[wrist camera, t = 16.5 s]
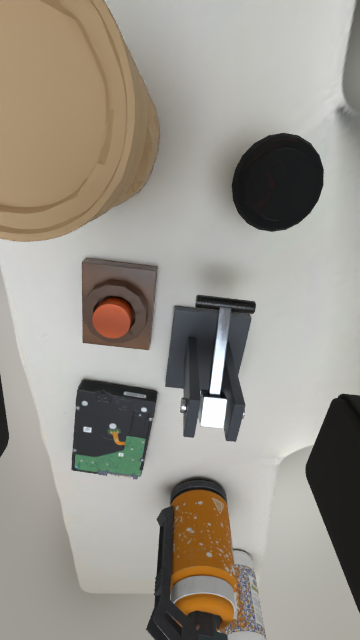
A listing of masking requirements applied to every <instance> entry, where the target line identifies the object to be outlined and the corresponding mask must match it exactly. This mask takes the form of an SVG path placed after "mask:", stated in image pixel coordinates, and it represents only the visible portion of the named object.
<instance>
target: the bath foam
mask: <svg viewBox="0 0 360 640" xmlns="http://www.w3.org/2000/svg"><path fill="white" fill-rule="evenodd" d="M233 555H234V563H235V571H236V579H237V589H236V592H235V593H234V600H235V613H234V617H233V620H232V622H231V623H230V624H229V625H228V626H227V627H225V628H224V629H221V630H220V633H224V634H227V636H228V640H266V635H265V630H264V624H263V618H262V612H261V606H260V601H259V595H258V589H257V583H256V578H255V572H254V567H253V561H252V558H251V557H250V556H249V555H248V554H247V553H245V552H243V551H238V550H233Z"/></svg>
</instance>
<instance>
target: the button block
mask: <svg viewBox="0 0 360 640" xmlns="http://www.w3.org/2000/svg"><path fill="white" fill-rule="evenodd" d="M156 277H157V267H155V266H147V265H139V264H130V263H122V262H114V261H105V260H97V259H89V258H86V259H85V260H84V261H83V262H82V318H83V343H89V344H98V345H107V346H116V347H125V348H134V349H144V350H149V348H150V342H151V331H152V320H153V309H154V298H155V287H156ZM110 297H116V298H120V299H123V300H124V301H126V302H127V303H128V304H129V305H130V307H131V309H132V311H133V320H132V323H131V326H130V328H129V330H128V332H127V333H126V334H125V335H123V336H121V337H119V338H107V337H105V336H103V335H101V334H100V333H98V332H97V330H96V329H95V327H94V325H93V322H92V317H93V314H94V312H95V310H96V308H97V307H98V305H99V304H100V302H102V301H103V300H104V299H107V298H110Z"/></svg>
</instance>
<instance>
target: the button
mask: <svg viewBox="0 0 360 640" xmlns="http://www.w3.org/2000/svg"><path fill="white" fill-rule="evenodd" d="M132 320H133V311H132V309H131V307H130V305H129V304H128V303H127V302H126V301H124V300H123V299H120V298H116V297H110V298H107V299H104V300H103V301H102V302H100V304H99V305H98V307H97V308H96V310H95V312H94V314H93V317H92V322H93V325H94V327H95V329H96V330H97V332H98V333H100V334H101V335H103V336H105V337H107V338H119V337H121V336H123V335H125V334H126V333H127V332H128V330H129V328H130V326H131V323H132Z"/></svg>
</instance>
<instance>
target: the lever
mask: <svg viewBox="0 0 360 640" xmlns="http://www.w3.org/2000/svg"><path fill="white" fill-rule="evenodd" d="M195 307H196V308H205V309H213V310H218V314H217V322H216V330H215V338H214V346H213V354H212V362H211V370H210V378H209V386H208V390H203V389H202V390H201V402H200V408H199V413H198V418H199V422H200V426H205V427H215V428H224V422H225V414H226V407H227V398H226V396H225V394H224V392H222V391H221V387H222V379H223V371H224V363H225V355H226V347H227V339H228V332H229V324H230V316H231V312H239V313H248V314H254V312H255V308H256V304H255V302H254V301H247V300H238V299H230V298H221V297H213V296H204V295H197V296H196V303H195Z"/></svg>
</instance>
